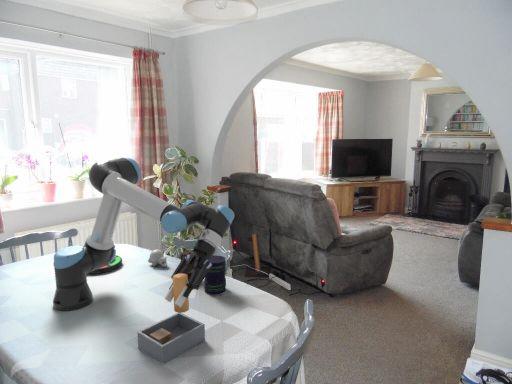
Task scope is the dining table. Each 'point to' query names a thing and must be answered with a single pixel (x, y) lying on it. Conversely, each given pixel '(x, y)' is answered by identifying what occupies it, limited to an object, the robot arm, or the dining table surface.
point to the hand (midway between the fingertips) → (172, 302)
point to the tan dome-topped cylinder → (178, 286)
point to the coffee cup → (189, 264)
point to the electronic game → (109, 266)
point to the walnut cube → (161, 336)
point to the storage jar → (216, 276)
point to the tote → (183, 337)
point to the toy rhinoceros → (157, 258)
